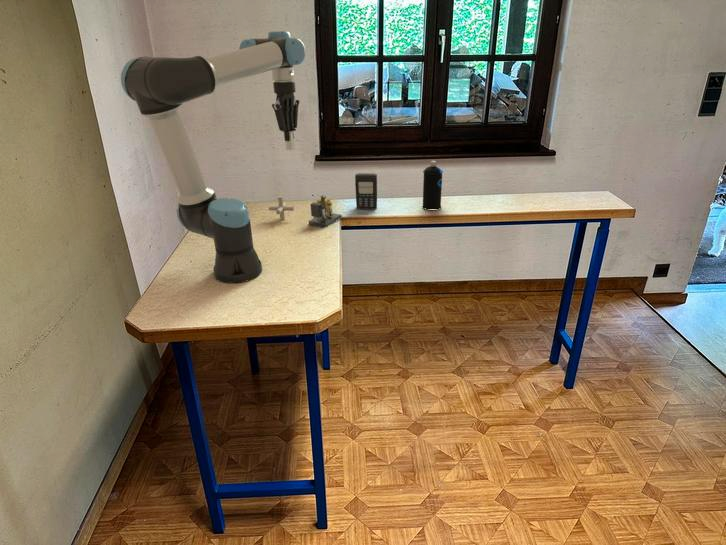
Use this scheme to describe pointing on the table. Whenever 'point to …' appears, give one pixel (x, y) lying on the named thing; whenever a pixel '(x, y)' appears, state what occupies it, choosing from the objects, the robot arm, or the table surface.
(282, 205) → the pipe connector
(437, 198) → the aerosol can
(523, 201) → the table surface
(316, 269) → the table surface
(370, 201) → the card reader
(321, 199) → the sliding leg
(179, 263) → the table surface
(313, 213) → the bolt plate
